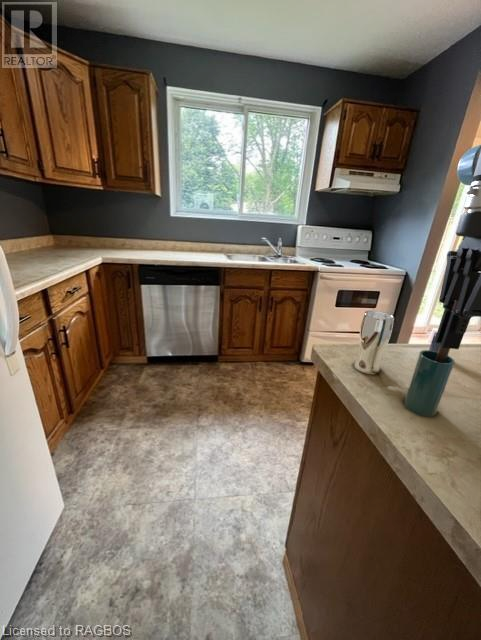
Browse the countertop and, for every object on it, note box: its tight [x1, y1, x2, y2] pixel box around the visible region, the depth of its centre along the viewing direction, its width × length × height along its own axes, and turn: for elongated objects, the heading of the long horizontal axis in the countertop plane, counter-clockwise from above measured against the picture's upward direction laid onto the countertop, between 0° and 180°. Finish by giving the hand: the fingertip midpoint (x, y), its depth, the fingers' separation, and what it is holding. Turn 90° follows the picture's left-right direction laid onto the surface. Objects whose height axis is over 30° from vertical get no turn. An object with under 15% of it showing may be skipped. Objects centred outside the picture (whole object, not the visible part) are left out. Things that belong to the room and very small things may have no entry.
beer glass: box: [354, 310, 395, 375], centre depth 69 cm, size 7×7×15 cm
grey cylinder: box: [428, 332, 441, 352], centre depth 78 cm, size 4×4×7 cm
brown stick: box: [435, 300, 459, 363], centre depth 52 cm, size 2×2×20 cm
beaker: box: [404, 349, 456, 417], centre depth 55 cm, size 6×6×12 cm
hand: (446, 344), depth 51 cm, fingers closed on brown stick, 1 cm apart
